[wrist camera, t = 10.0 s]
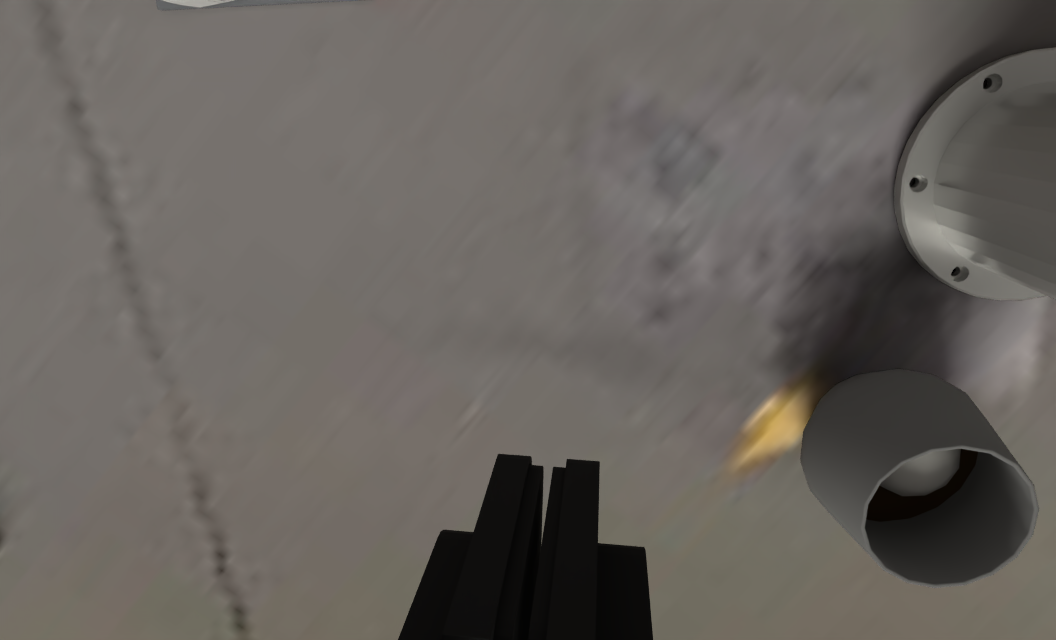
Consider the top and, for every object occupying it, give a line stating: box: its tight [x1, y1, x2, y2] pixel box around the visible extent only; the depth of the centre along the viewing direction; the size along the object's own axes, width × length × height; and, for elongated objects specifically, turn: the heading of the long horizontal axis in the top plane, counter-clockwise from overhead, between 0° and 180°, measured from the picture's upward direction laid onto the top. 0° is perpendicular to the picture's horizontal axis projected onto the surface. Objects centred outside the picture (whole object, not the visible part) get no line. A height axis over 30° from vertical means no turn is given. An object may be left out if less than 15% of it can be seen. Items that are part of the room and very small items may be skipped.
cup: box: [800, 369, 1039, 588], centre depth 35 cm, size 10×9×10 cm
